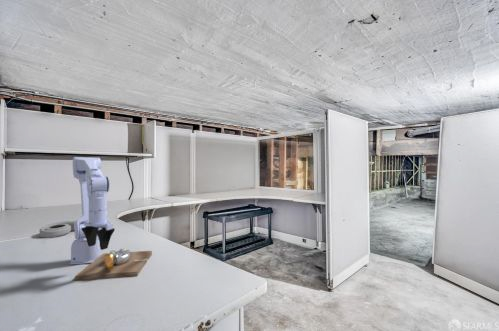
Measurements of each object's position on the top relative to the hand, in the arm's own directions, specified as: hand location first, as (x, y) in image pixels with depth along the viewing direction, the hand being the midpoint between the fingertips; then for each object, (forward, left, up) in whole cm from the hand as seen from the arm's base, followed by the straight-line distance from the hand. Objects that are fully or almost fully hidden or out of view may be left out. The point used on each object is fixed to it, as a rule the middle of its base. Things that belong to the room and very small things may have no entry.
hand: (97, 247), depth 87 cm
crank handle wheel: (+5, +3, -8) cm, 10 cm away
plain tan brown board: (+5, +6, -9) cm, 12 cm away
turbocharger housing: (-48, +62, -10) cm, 79 cm away
